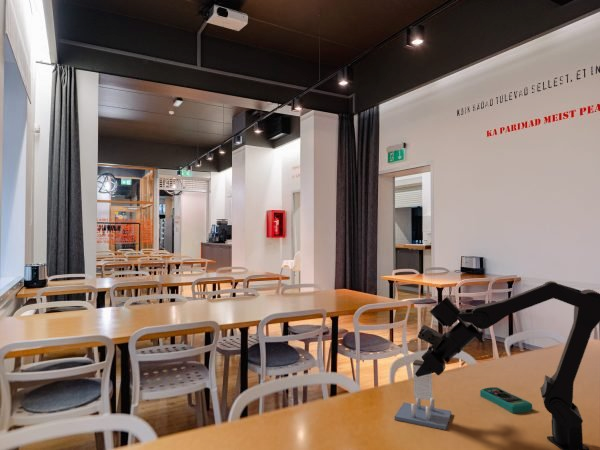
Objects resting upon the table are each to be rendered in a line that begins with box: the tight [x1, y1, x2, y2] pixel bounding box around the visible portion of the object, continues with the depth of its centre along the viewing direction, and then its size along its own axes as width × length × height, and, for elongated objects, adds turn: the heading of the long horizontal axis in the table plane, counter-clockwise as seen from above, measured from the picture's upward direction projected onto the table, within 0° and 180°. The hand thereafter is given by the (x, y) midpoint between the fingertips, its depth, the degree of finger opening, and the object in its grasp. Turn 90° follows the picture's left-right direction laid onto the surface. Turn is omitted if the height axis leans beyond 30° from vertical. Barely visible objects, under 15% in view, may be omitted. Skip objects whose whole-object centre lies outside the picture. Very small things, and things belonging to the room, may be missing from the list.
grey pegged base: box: [394, 397, 452, 431], centre depth 115 cm, size 14×11×4 cm
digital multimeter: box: [479, 386, 533, 414], centre depth 124 cm, size 7×15×3 cm, turn 15°
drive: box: [412, 359, 433, 401], centre depth 115 cm, size 4×4×10 cm
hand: (417, 373), depth 116 cm, fingers closed on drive, 3 cm apart
